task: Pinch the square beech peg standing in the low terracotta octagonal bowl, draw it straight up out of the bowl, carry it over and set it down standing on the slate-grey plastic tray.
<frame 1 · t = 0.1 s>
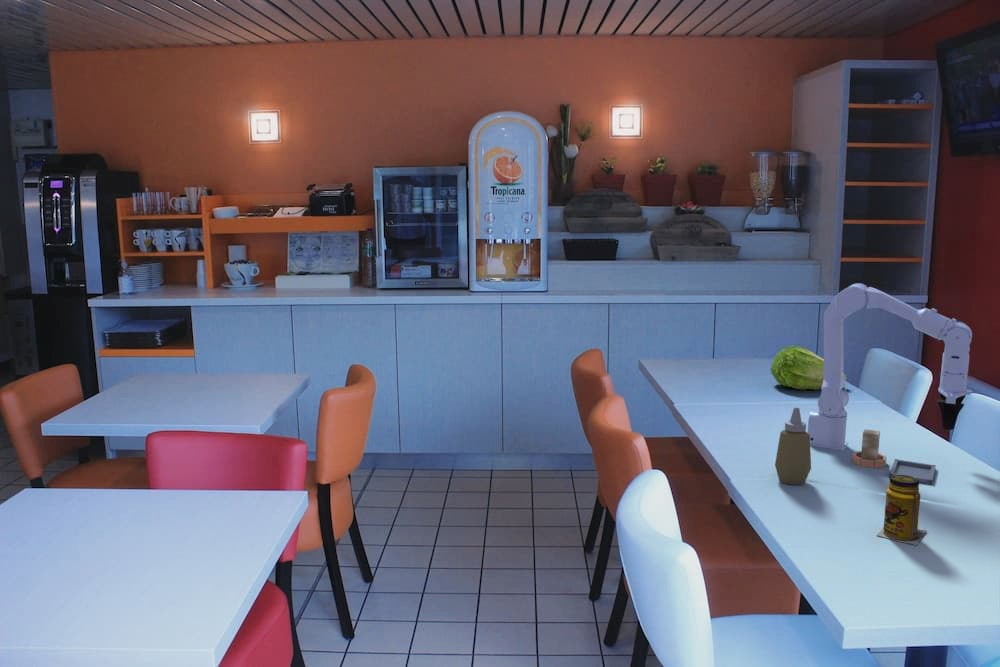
hand: (949, 425, 198), 10 cm above the table, fingers open, 7 cm apart
squeeze bottle: (791, 482, 189), on the table
lettuce: (807, 388, 278), on the table
condiment: (901, 535, 160), on the table
terracotta octagonal bowl: (868, 464, 200), on the table
beech peg: (869, 462, 200), resting on terracotta octagonal bowl
slate tray: (912, 475, 192), on the table
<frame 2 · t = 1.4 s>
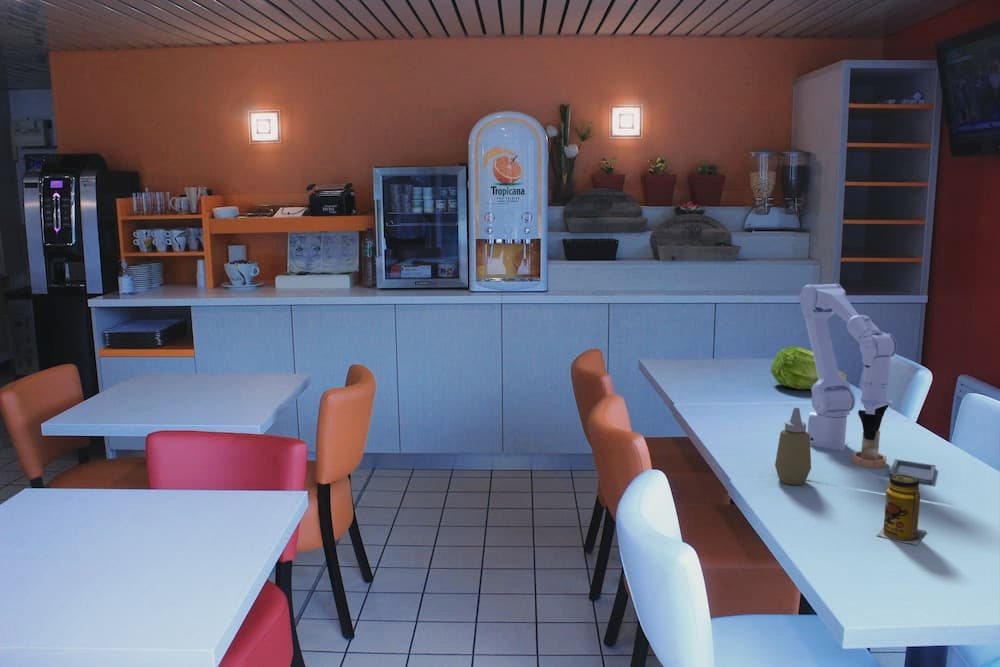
hand: (871, 435, 198), 8 cm above the table, fingers open, 7 cm apart
nothing on the table moved.
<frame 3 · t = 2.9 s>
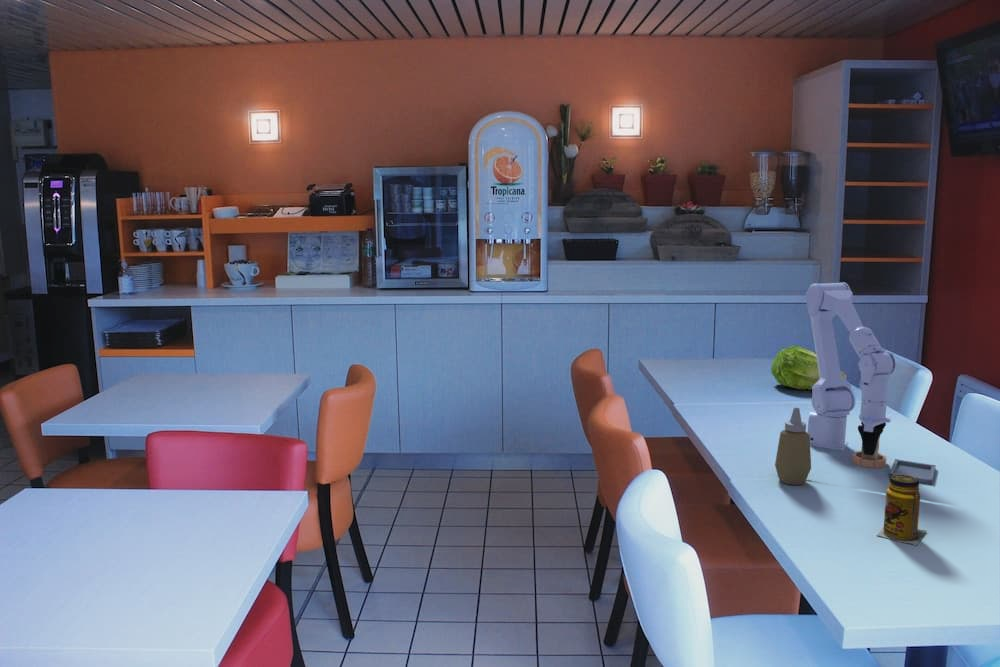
hand: (869, 452, 199), 3 cm above the table, fingers closed on beech peg, 3 cm apart
beech peg: (869, 462, 200), resting on terracotta octagonal bowl, touching gripper
everything else where it was.
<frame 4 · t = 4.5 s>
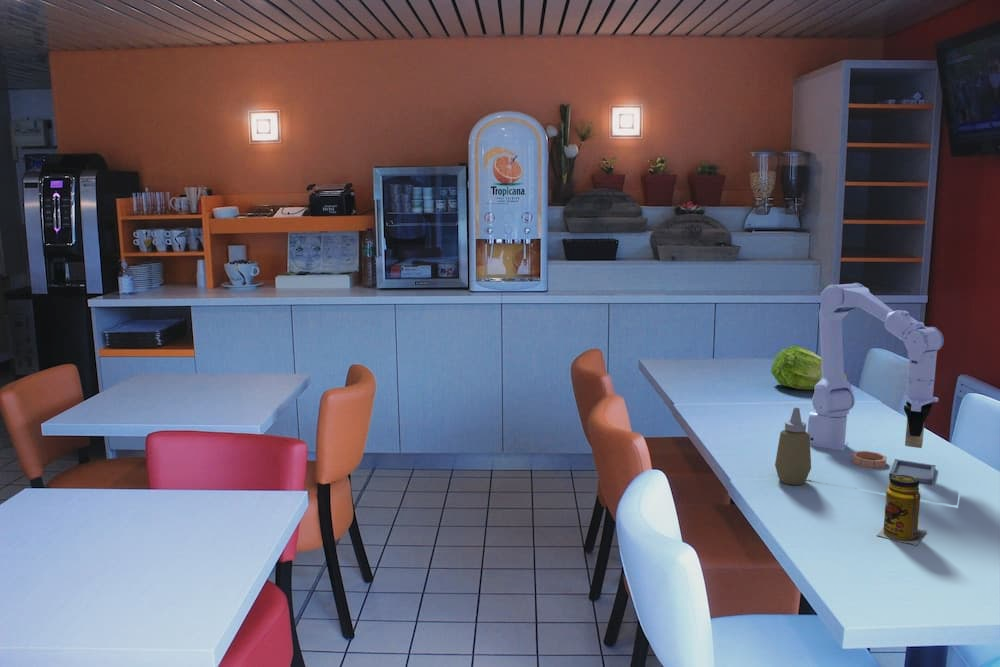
hand: (915, 433, 190), 10 cm above the table, fingers closed on beech peg, 3 cm apart
beech peg: (913, 445, 191), point 8 cm above the table, touching gripper
everything else where it was.
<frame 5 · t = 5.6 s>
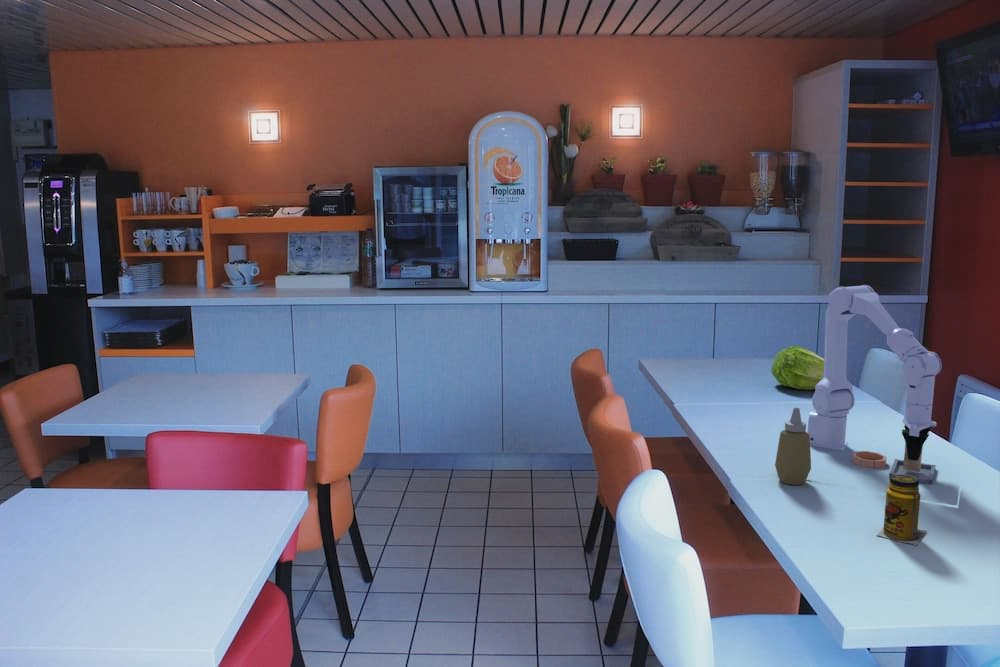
hand: (913, 457, 191), 5 cm above the table, fingers closed on beech peg, 3 cm apart
beech peg: (911, 468, 192), point 2 cm above the table, touching gripper
everything else where it was.
when the fingers open (4 cm above the table, at t = 6.4 s): beech peg stays where it is, resting on slate tray.
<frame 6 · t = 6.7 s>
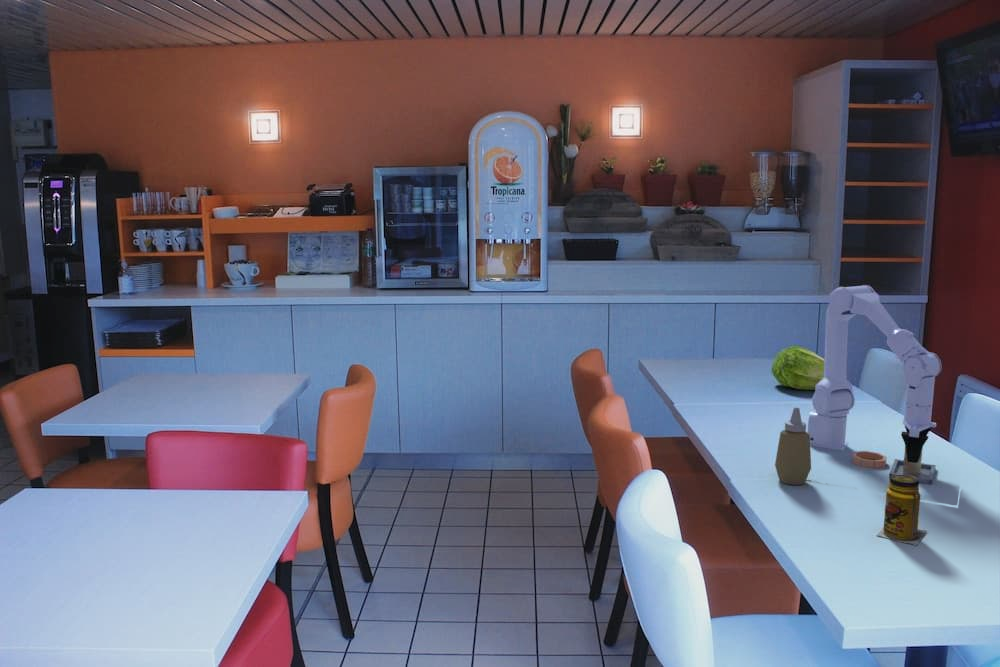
hand: (913, 458, 191), 4 cm above the table, fingers open, 6 cm apart
beech peg: (911, 472, 192), point 1 cm above the table, touching slate tray
everything else where it was.
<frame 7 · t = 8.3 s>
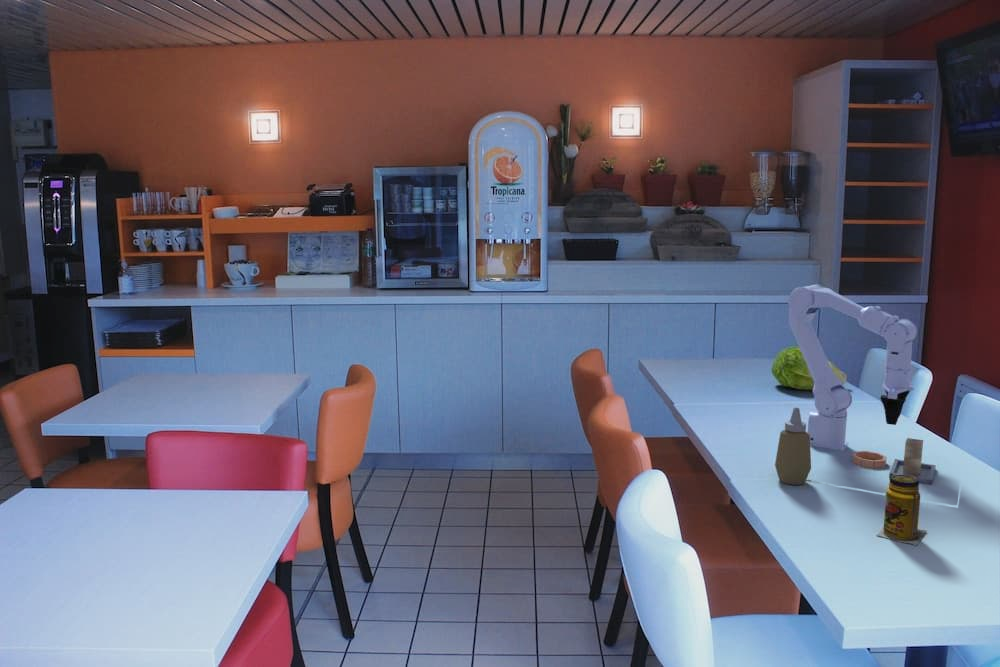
hand: (893, 420, 202), 10 cm above the table, fingers open, 7 cm apart
nothing on the table moved.
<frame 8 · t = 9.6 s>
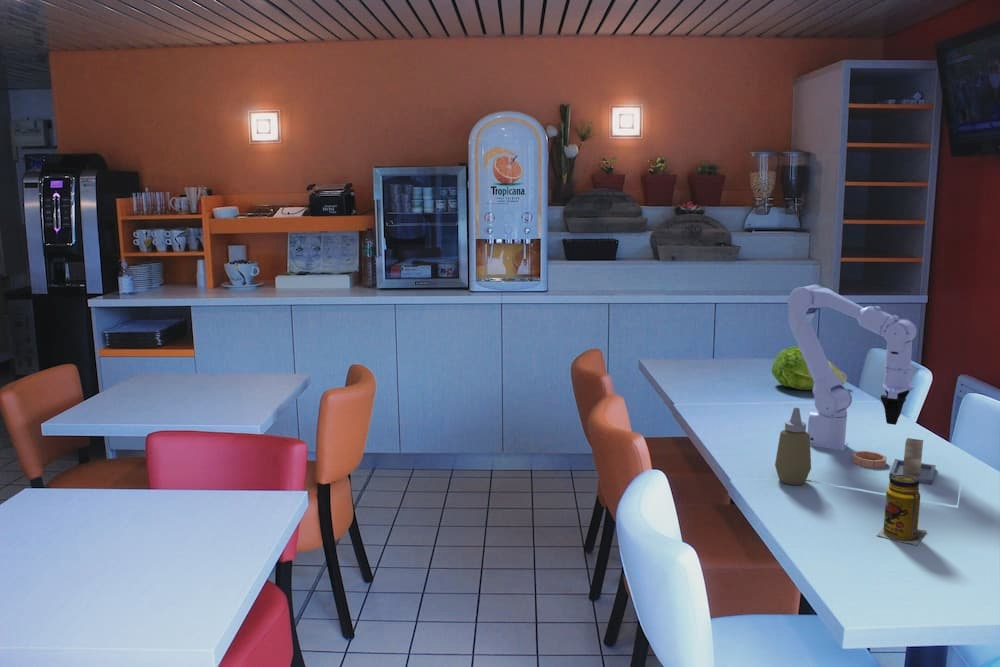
hand: (893, 420, 202), 10 cm above the table, fingers open, 7 cm apart
nothing on the table moved.
at the end: beech peg inside the target area on the slate tray (0.2 cm from its centre), point 0.6 cm above the slate tray's base; beech peg tilted 0°; the gripper is holding nothing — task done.
